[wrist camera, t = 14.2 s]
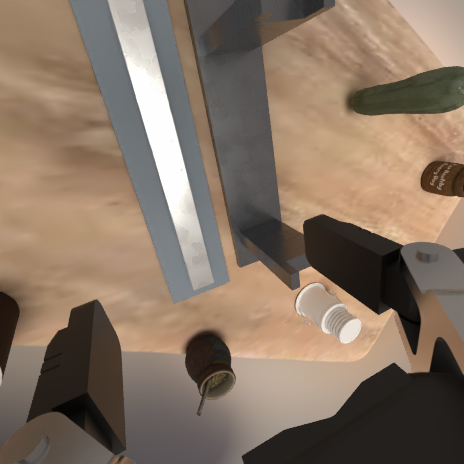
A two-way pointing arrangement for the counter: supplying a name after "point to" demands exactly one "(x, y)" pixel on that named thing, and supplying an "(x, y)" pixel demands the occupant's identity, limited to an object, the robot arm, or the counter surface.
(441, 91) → the vegetable
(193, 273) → the steel rail
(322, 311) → the downlight
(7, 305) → the coffee mug
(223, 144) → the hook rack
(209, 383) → the mate gourd
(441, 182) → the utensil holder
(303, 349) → the counter surface
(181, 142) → the blue-gray flat board
